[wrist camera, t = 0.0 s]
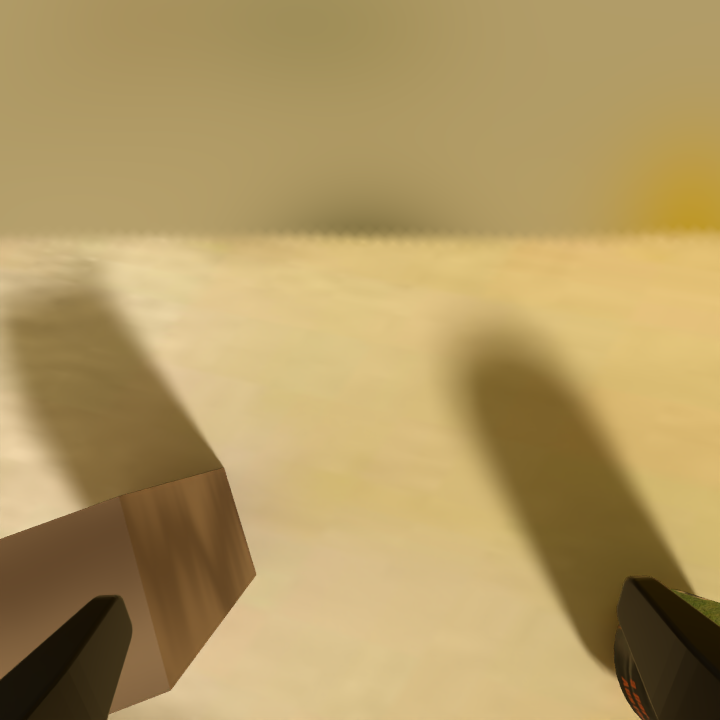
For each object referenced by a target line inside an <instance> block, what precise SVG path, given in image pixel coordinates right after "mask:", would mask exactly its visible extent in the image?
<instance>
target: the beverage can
mask: <svg viewBox="0 0 720 720" xmlns="http://www.w3.org/2000/svg"><path fill="white" fill-rule="evenodd" d="M670 590H672V591H673V592H674V593H676V594H677V595H678V596H680V597H681V598H682V599H684V600H685V601H686V602H688V603H689V604H690V605H692V606H693V607H695V608H696V609H697V610H699V611H700V612H701V613H703V614H704V615H705V616H707V617H708V618H709V619H711V620H712V621H713V622H715V623H716V624H717V625H719V626H720V603H718V602H715V601H712V600H709V599H705V598H702V597H699V596H696V595H693V594H689V593H686V592H683V591H680V590H674V589H670ZM614 663H615V668H616V674H617V678H618V681H619V684H620V687H621V689H622V691H623V694H624V696H625V698H626V700H627V701H628V703H629V704H630V706H631V707H632V709H633V710H634V712H635V713H636V714H637V715H638V716H639V717H640V718H641V719H642V720H658V719H657V716H656V714H655V712H654V709H653V707H652V704H651V702H650V699H649V697H648V694H647V692H646V689H645V687H644V684H643V682H642V679H641V677H640V674H639V672H638V669H637V667H636V664H635V662H634V659H633V656H632V654H631V651H630V649H629V646H628V644H627V641H626V639H625V636H624V634H623V631H622V629H621V626H620V624H619V626H618V629H617V632H616V636H615V644H614Z"/></svg>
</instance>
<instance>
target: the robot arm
mask: <svg viewBox="0 0 720 720" xmlns="http://www.w3.org/2000/svg"><path fill="white" fill-rule="evenodd" d="M617 617H618V621H619V624H620V626H621V629H622V631H623V634H624V636H625V639H626V641H627V644H628V646H629V649H630V651H631V654H632V656H633V659H634V662H635V664H636V667H637V669H638V672H639V674H640V677H641V679H642V682H643V684H644V687H645V689H646V692H647V694H648V697H649V699H650V702H651V704H652V707H653V709H654V712H655V714H656V716H657V719H658V720H720V626H719V625H717V624H716V623H715V622H713V621H712V620H711V619H709V618H708V617H707V616H705V615H704V614H703V613H701V612H700V611H699V610H697V609H696V608H695V607H693V606H692V605H690V604H689V603H688V602H686V601H685V600H684V599H682V598H681V597H680V596H678V595H677V594H676V593H674V592H673V591H672V590H670V589H669V588H667V587H666V586H665V585H663V584H662V583H661V582H659V581H658V580H657V579H655V578H653V577H650V576H630V577H627V578H626V579H625V581H624V584H623V587H622V591H621V594H620V598H619V601H618V605H617ZM132 632H133V628H132V622H131V619H130V617H129V614H128V611H127V608H126V605H125V603H124V600H123V598H122V597H121V596H120V595H99V596H96V597H95V598H93V599H92V600H90V601H89V602H88V603H87V604H86V605H85V606H83V607H82V608H81V609H80V610H79V611H78V612H77V613H75V614H74V615H73V616H72V617H71V618H70V619H69V620H67V621H66V622H65V623H64V624H63V625H62V626H61V627H59V628H58V629H57V630H56V631H55V632H54V633H53V634H51V635H50V636H49V637H48V638H47V639H46V640H45V641H43V642H42V643H41V644H40V645H39V646H38V647H37V648H36V649H34V650H33V651H32V652H31V653H30V654H29V655H28V656H26V657H25V658H24V659H23V660H22V661H21V662H20V663H18V664H17V665H16V666H15V667H14V668H13V669H12V670H10V671H9V672H8V673H7V674H6V675H5V676H4V677H2V678H1V679H0V720H107V718H108V715H109V712H110V708H111V705H112V702H113V698H114V695H115V692H116V689H117V685H118V682H119V679H120V675H121V672H122V669H123V665H124V662H125V659H126V655H127V652H128V649H129V645H130V642H131V638H132Z"/></svg>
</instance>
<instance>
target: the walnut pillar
mask: <svg viewBox="0 0 720 720" xmlns="http://www.w3.org/2000/svg"><path fill="white" fill-rule="evenodd" d="M255 576H256V572H255V568H254V565H253V562H252V558H251V555H250V552H249V548H248V545H247V542H246V539H245V535H244V532H243V529H242V525H241V522H240V519H239V516H238V512H237V509H236V506H235V502H234V499H233V496H232V493H231V489H230V486H229V483H228V479H227V476H226V473H225V469H224V468H221V469H217V470H213V471H210V472H206V473H202V474H199V475H195V476H191V477H188V478H184V479H180V480H177V481H173V482H169V483H166V484H162V485H158V486H155V487H151V488H147V489H144V490H140V491H136V492H133V493H129V494H125V495H122V496H118V497H115V498H113V499H110V500H107V501H104V502H102V503H99V504H96V505H93V506H90V507H88V508H85V509H82V510H79V511H77V512H74V513H71V514H68V515H66V516H63V517H60V518H57V519H54V520H52V521H49V522H46V523H43V524H41V525H38V526H35V527H32V528H30V529H27V530H24V531H21V532H18V533H16V534H13V535H10V536H7V537H5V538H2V539H0V679H1V678H2V677H4V676H5V675H6V674H7V673H8V672H9V671H10V670H12V669H13V668H14V667H15V666H16V665H17V664H18V663H20V662H21V661H22V660H23V659H24V658H25V657H26V656H28V655H29V654H30V653H31V652H32V651H33V650H34V649H36V648H37V647H38V646H39V645H40V644H41V643H42V642H43V641H45V640H46V639H47V638H48V637H49V636H50V635H51V634H53V633H54V632H55V631H56V630H57V629H58V628H59V627H61V626H62V625H63V624H64V623H65V622H66V621H67V620H69V619H70V618H71V617H72V616H73V615H74V614H75V613H77V612H78V611H79V610H80V609H81V608H82V607H83V606H85V605H86V604H87V603H88V602H89V601H90V600H92V599H93V598H95V597H96V596H99V595H120V596H121V597H122V598H123V600H124V603H125V605H126V608H127V611H128V614H129V617H130V619H131V622H132V628H133V632H132V638H131V642H130V645H129V649H128V652H127V655H126V659H125V662H124V665H123V669H122V672H121V675H120V679H119V682H118V685H117V689H116V692H115V695H114V698H113V702H112V705H111V708H110V712H109V714H111V713H113V712H116V711H119V710H121V709H124V708H126V707H129V706H132V705H134V704H137V703H139V702H142V701H145V700H147V699H150V698H153V697H155V696H158V695H160V694H163V693H166V692H168V691H171V689H172V688H173V687H174V685H175V684H176V683H177V681H178V680H179V678H180V677H181V676H182V674H183V673H184V672H185V670H186V669H187V668H188V666H189V665H190V664H191V662H192V661H193V660H194V658H195V657H196V655H197V654H198V653H199V651H200V650H201V649H202V647H203V646H204V645H205V643H206V642H207V641H208V639H209V638H210V637H211V635H212V634H213V633H214V631H215V630H216V628H217V627H218V626H219V624H220V623H221V622H222V620H223V619H224V618H225V616H226V615H227V614H228V612H229V611H230V610H231V608H232V607H233V606H234V604H235V603H236V601H237V600H238V599H239V597H240V596H241V595H242V593H243V592H244V591H245V589H246V588H247V587H248V585H249V584H250V583H251V581H252V580H253V579H254V577H255Z"/></svg>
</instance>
